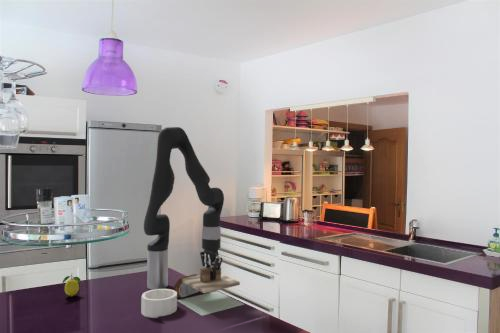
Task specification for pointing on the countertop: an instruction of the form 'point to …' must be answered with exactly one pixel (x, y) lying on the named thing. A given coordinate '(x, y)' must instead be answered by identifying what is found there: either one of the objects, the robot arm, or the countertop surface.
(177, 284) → the tin
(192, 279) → the cover board
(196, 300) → the mat
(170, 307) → the bowl
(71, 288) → the lemon
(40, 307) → the countertop surface
